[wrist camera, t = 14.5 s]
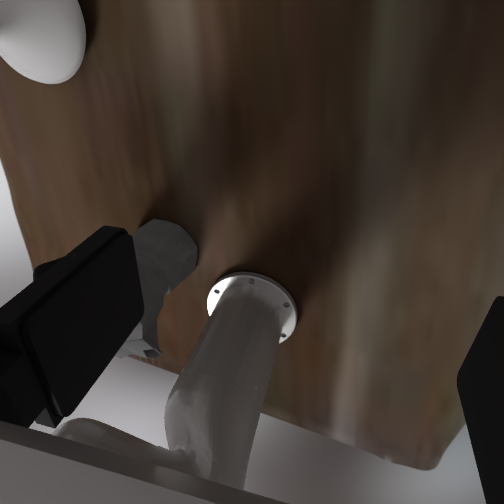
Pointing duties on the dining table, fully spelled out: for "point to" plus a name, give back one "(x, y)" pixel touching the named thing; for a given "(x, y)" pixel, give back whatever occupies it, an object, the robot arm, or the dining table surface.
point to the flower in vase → (42, 38)
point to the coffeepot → (153, 278)
